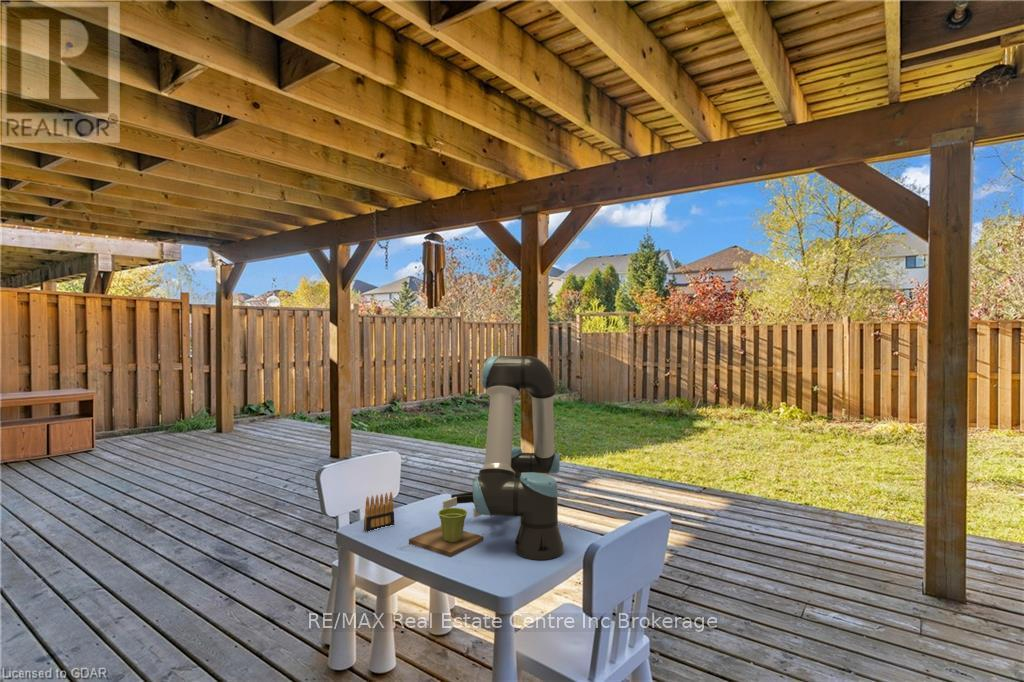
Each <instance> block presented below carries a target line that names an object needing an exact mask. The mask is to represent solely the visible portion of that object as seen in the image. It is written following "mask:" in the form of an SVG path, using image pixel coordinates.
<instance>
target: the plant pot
mask: <svg viewBox="0 0 1024 682" xmlns="http://www.w3.org/2000/svg"><path fill="white" fill-rule="evenodd" d="M437 515H438V516H439V519H440V523H441V524H440V526H441V527H442V535H443V540H444V541H449V542H457V541H459V540H460V539H462V534H463V531H464V528H465V527H464V526H465V520H466V517H467V515H468V510H466V509H464V508H460V507H450V508H446V509H443V508H442V509H440V510H438V512H437Z"/></svg>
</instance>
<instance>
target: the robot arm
mask: <svg viewBox="0 0 1024 682" xmlns="http://www.w3.org/2000/svg"><path fill="white" fill-rule="evenodd" d="M481 382H482V388H484V389H485V390H486V391H485V392H486V394H487V395H488V396H489V406H488V407H489V408H488V419H487V432H486V433H487V434H486V442H485V443H486V444H485V455H484V458H485V459H484V465H483V466H482V467H481V468H480V469H479V470H478V471H479V473H478V475H476V476H473V481H472V491H468V492H463V493H462V492H461V493H456V494H451V496H450V497H451V498H448V499H446V500H443V501H442V509H446V508H454V507H456V506H458V504H459V505H460V504H470V503H471V504H472V503H473V505H474V508H473V518H477V517H480V516H482V515H483V516H490V517H492V516H501V517H520V526H519V529H518V532H517V534H516V538H515V542H514V552H515V553H516V554H517V555H518V556H519V557H522V558H524V559H529V560H536V561H544V560H553V559H555V557H556V558H559V557H560V556H561V555H562V554H563V553H564V541H563V539H562V536H561V532H560V528H559V524H558V523H559V521H558V519H559V517H558V515H559V512H558V511H559V509H558V507H559V506H558V503H559V502H558V500H559V499H558V498H559V489H558V482H557V480H556V479H555V478H554V477H552V476H550V474H551V475H552V474H558V473H560V468H561V463H560V461H561V460H560V459H561V457H560V454H559V453H556V452H555V433H554V432H555V429H554V428H555V427H554V425H555V423H554V396H555V395H556V391H557V390H556V381H555V378H554V375H553V373H552V371H551V370H550V368H549V367H548V365H546V364H545V362H543V361H542V360H541V359H540V358H537V357H535V356H531V355H527V356H526V355H525V356H523V355H521V356H520V355H494V356H490V357H488V358H487V359H486V361H485V363H484V366H483V371H482V379H481ZM521 390H528V395H529V396H530V397H531V405H532V406H531V408H532V409H531V410H532V427H533V429H532V430H533V432H532V433H533V450H534V451H533V452H523V449H522V448H521V447H520V446H515V445H514V446H513V438H514V437H513V436H514V422H515V421H514V420H515V408H516V407H515V405H516V404H515V403H516V398H517V397H519V396H520V393H521V392H520V391H521ZM552 558H553V559H552Z"/></svg>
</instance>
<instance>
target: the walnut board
mask: <svg viewBox="0 0 1024 682" xmlns="http://www.w3.org/2000/svg"><path fill="white" fill-rule="evenodd" d="M484 539H485V538H484V535H480V534H477V533H472V532H469V531H465V530H463V534H462V539H460V540H459V541H457V542H449V541H444V540H443V535H442V527H441V525H440V526H437V527H436V528H435V527H434V528H433V529H431V530H428V531H425V532H422V533H420V534H417V535H416V536H414V537H410V538H409V539H408V544H409V545H411V544H412V545H411V546H414V545H415V546H414V547H417V546H418V548H420V547H421V549H423V548H424V550H426V549H427V551H430V552H433V553H435V554H439V555H443V556H445V557H449V558H452V557H454V556H455V555H456V556H457V555H458V554H461V553H462V552H464V551H465V550H468V549H470V548H471V547H473V546H476V545H478V544H481V543H482V542H484Z"/></svg>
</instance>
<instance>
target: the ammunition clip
mask: <svg viewBox="0 0 1024 682" xmlns="http://www.w3.org/2000/svg"><path fill="white" fill-rule="evenodd" d="M388 495H389V497H388ZM393 497H394V495H393V492H392V491H390V492H389V494H388V492H385V494H384V495H383V493H380V496H379V495H378V494H376V495H375V498H374V495H371V497H370V498H369V496H367V497H366V499H365V507H364V509H365V510H364V519H363V520H364V521H363V522H364V524H363V531H364V530H365V531H370V530H374V529H377V528H381V527H385V526H390V525H394V526H395V511H394V499H393ZM365 531H364V532H365ZM374 531H375V530H374ZM370 532H371V531H370Z"/></svg>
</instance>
